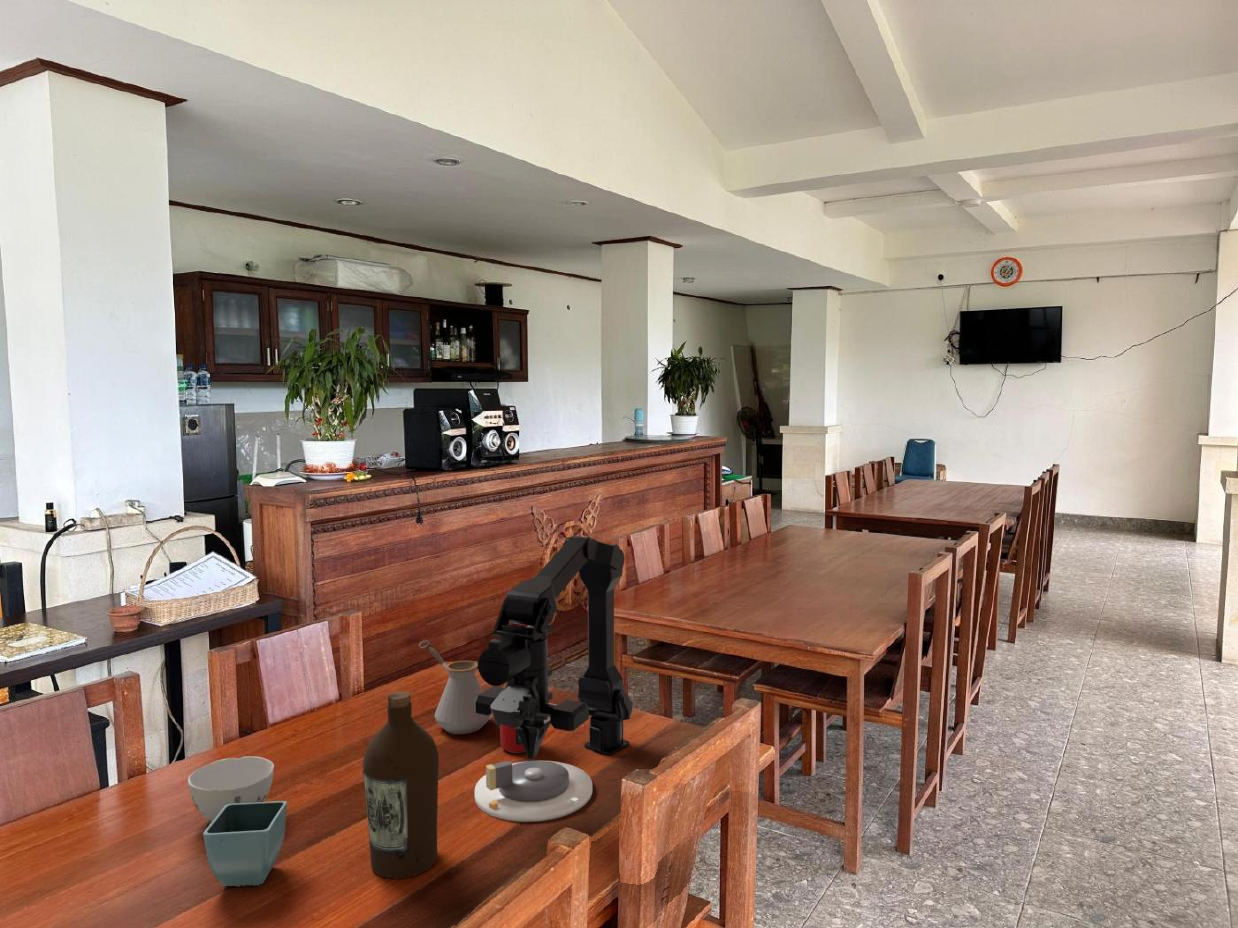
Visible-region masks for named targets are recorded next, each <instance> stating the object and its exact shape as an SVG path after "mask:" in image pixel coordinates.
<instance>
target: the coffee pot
mask: <svg viewBox="0 0 1238 928" xmlns="http://www.w3.org/2000/svg"><path fill="white" fill-rule="evenodd" d="M422 643H423V644H424V646H421V644H422ZM432 645H433V644H430V642H429V641H428V640H426V639H423V640H422V641H421V642H420V643H419V645H418V647H419V648H420V649H425V648H426V650H428V651H429V652H430V654H431V656H432V657H433V658H434V659H435V660H436V661H437V662H438V663H439V664H440V665H441V666H442V667H443V668H444V670H445V671H446V672H447V673H448V674H449V677H448V680H447V682H446V685H445V687H444V690H443V692H442V695H441V698H440V699H439V702H438V705H437V707H436V709H435V713H434V719H435V721H436V724H438V725H439V726H440V728H442V729H444V731H445V732H447V733H449V734H453V735H466V734H468V735H469V734H472V733H475V732H478V731H479V730H481V729H482V728H483V726H485V725H486V724H487V722H489V720H490V718H491V715H492V713H491V714H490V715H489V716H488V715H483V714H478V713H475V703H474V702H475V700H476V697H477V696H478V695H479V694H481V693H483V692H484V691H483V688H482V686H481V685H480V683H479V680H478V678H477V676H476V670H478V661H474V660H458V661H453V662H452V661H451V662H450V663H448V664H447V663H446V662H445V660H444V659H443V658H442V656H441V655H440V653H439V652H438V650H436V649H435V648H434V647H433V646H432Z"/></svg>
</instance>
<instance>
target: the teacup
mask: <svg viewBox="0 0 1238 928" xmlns="http://www.w3.org/2000/svg"><path fill="white" fill-rule="evenodd" d="M274 767H275V765H274V763H273V761H271V760H270V759H267V758H265V757H260V756H249V755H248V756H245V755H243V756H242V757H238V758H237V757H229V758H228V757H227V758H223V759H218V760H215V761H213V762H211V763H209V764H206V765H204V766H202V767H200V768H198V769H195V770H194V771H193V772H192V773H191V774H189V776H188V778H187V785H188V791H189V794H190V797H191V799H192V802H193V805H194V806H195V808H196V810H197V811H198V812H199V814H201V816H203V818H205V819H206V820H207V821H209V822H211V823H212V821H213V820H214V819H215V818H216V816H217V815H218V814H219V813H220V811H221V810H222V809H223V807H224V806H225V805H227V804H235V803H256V802H266V799H267V797H268V795H269V793H270V789H271V786H272V783H273V778H274V770H275V769H274Z"/></svg>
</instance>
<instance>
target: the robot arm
mask: <svg viewBox="0 0 1238 928" xmlns="http://www.w3.org/2000/svg"><path fill="white" fill-rule="evenodd" d="M625 562H626V561H625V553H624V551H623V550H622V549H621V548H620V546H619V545H618V544H612V543H604V542H601V541H598V540H597V539H595V538H592V537H589V536H581V535H580V536H579V535H571V536H568V537H566V538H565V540H564V543H563V545H562V547H561V548H560V549H559V550H558V551H557V552H556V553H555V554H554V556H552V558H551V559H550V560H549V561H548V562H547V563H546V564H545V565H544V567H542V569H541V570H540V571H539V572H538V573H537V574H536V575H535V576H534V577H532V578H529V579H526V580H523V581H520V582H519V583H518V584H516V585H515V586H514V587H512V588H511V589H510V590H509V591H508V592H507V593H506V596H504V599H503V601H502V605H501V608H500V609H499V610H500V611H499V614H498V617H497V620H496V623H495V625H494V629H493V630H492V634H493V635H494V636H499V637H497V638H493V639H491V640H489V641H488V643H487V644H488V648H487V649H486V650H483V651H482V652H481V654H480V656H479V659H478V661H477V663H478V668H477V670H478V672H479V675H480V677H481V678H482V680H483V681H484V682H485V683H487V685H489V686H491V687H490V688H488V689H486V690H485V691H483V693H481V694H479V695H478V696H477V697H476V700H475V702H474V703H475V713H478V714H483V715H488V716H489V715H490V714H491V715H492V718H493V720H494V724H495V725H496V726H500V725H506V726H510V727H511V728H515V729H516V731H517V732H518V734H519V736H520V739H521V741H522V744H523V746H524V749H525V751H526V752H525V753H526V756H527V758H528V759H529V760H531V761H534V759H536V757H537V755H538V753H539V750H540V748H541V746H542V743H543V740H544V738H545V735H546V733H547V730H548V729H549V727H550V726H551V725H552V727H553V728H554V729H555V730H560V731H565V732H573V731H575V730H576V729H578V728H579V727H581V726H582V725H583V724H584V723H585V722H587V721H588V720H589V727H588V728H589V729H588V732H589V735H588V736H589V741H587V742H585V743H584V744H583V746H584V748H587V749H590V750H593V751H596V752H598V753H602V754H604V755H607V756H609V755H610V756H611V755H612V754H614V753H616V752H618V751H620V750H622V749H623V748H625V747H627V746H630V745H631V744H630V743H631V741H630V740H626V739H624V721H627V720H630V719H631V715H632V712H633V701H632V700H631V699H630V697H629V696H628V695H627V693H626V692H625V688H624V678H623V676H622V675H621V673H620V671H619V670H618V667H617V666H616V664H615V588H616V587H617V585H618V583H619V582H620V580H621V578H623V572H624V571H623V570H624V569H623V568H624V565H625ZM577 575H578V576H579V579H580V581H581V582H582V584H583V586H584V587H585V588H586V591H587V620H588V621H587V626H588V627H587V631H588V632H587V637H588V641H587V642H588V648H587V649H588V656H587V657H588V659H587V660H588V667H587V668H586V670H585V671H584V673H583V674H582V676H579V679H578V681H577V684H578V694H577V699H578V700H572V699H565V700H563V701H562V702H560V703H559V704H558V705H557V704H556V703H552V702H551V703H550V702H549V701H551V700H552V699H553V692H550V691H549V677H550V676H552V675H553V667H548V666H549V664H548V635H549V634H550V633H552V632H553V630H554V628H553V626H551V625H550V624H549V623H550V622H551V620H552V618H553V616H554V615H555V613H556V611H557V610H558V597H559V596H560V594H561V593H562V592H563V590H564V589H565V588H566V587H567V586H568V585H569V583H571V581H572V580H573V579H574V577H576V576H577ZM509 623H511V624H509ZM513 624H517V625H513ZM519 625H520V626H519ZM521 625H522V626H521ZM505 684H506V685H507V686H506V688H503V687H500V686H502V685H505Z"/></svg>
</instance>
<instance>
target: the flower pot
mask: <svg viewBox="0 0 1238 928" xmlns="http://www.w3.org/2000/svg"><path fill="white" fill-rule="evenodd" d="M287 808H288V802H287V801H286V800H277V801H264V802H256V803H235V804H227V805H225V806H224V807H223V809H222V810H221V811H220V813H219V814H218V815H217V816H216V818H215V819H214V820H213V821H212V822H211V823H209V825H208V826H207V827H206V828H205V830H204V831H203V833H202V836H203V842H204V847H205V850H206V856H207V860H208V861H207V862H208V864H209V868H210V870H211V873H212V874H213V875H214V877H215V878H216V880H217V881H219V883H220V884H221V885H223V886H224V887H225V886H236V887H239V886H238V885H243V886H242V887H246V886H245V885H250V886H251V885H253V886H261V885H262V884H263V883H264V882H266V881H265V880H267V877H268V876H269V874H270V872H271V871H272V869H273V867H274V865H275V863H276V861H277V860H278V857H279V854H280V851H281V849H282V846H283V843H284V838H285V834H286V833H285V832H286V824H287V823H286V822H287V821H286V820H287ZM260 884H261V885H260ZM251 887H252V886H251Z"/></svg>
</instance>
